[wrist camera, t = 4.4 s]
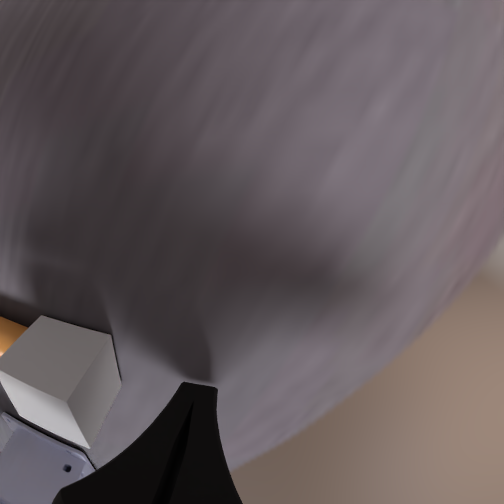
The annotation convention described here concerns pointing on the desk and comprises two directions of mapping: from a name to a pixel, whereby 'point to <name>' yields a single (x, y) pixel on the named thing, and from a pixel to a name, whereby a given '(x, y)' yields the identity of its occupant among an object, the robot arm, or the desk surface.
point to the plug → (59, 376)
